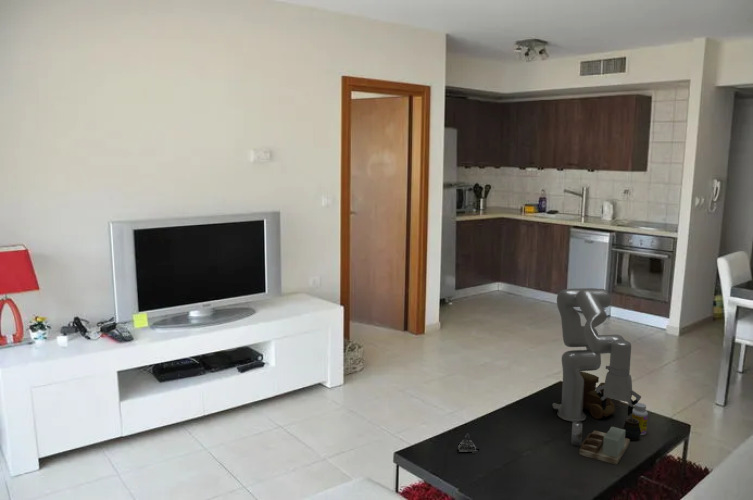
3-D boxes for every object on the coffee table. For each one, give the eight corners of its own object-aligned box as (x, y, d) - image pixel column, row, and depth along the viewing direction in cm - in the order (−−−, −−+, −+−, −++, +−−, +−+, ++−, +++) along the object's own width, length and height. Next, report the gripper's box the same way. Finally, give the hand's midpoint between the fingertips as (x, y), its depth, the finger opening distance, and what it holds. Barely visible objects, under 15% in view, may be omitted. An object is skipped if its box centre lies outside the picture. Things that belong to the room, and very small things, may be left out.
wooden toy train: (566, 408, 295) (568, 375, 293) (580, 402, 302) (582, 370, 299) (602, 422, 279) (605, 387, 277) (617, 416, 286) (619, 382, 283)
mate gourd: (625, 441, 261) (627, 419, 259) (619, 433, 268) (620, 411, 267) (642, 441, 260) (644, 419, 259) (635, 433, 268) (637, 412, 266)
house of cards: (478, 444, 258) (479, 426, 257) (480, 454, 249) (481, 436, 248) (457, 443, 259) (457, 426, 257) (458, 453, 250) (458, 435, 249)
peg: (570, 444, 258) (571, 423, 256) (572, 440, 261) (574, 420, 260) (579, 446, 255) (580, 426, 254) (582, 443, 259) (583, 422, 257)
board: (578, 454, 249) (579, 445, 248) (594, 434, 267) (594, 426, 266) (616, 464, 240) (617, 455, 240) (629, 443, 258) (630, 435, 258)
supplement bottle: (643, 437, 264) (646, 409, 262) (627, 432, 268) (630, 405, 266) (647, 432, 270) (650, 404, 268) (632, 427, 274) (634, 400, 272)
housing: (602, 453, 245) (603, 437, 244) (610, 442, 255) (611, 426, 254) (616, 457, 242) (618, 441, 241) (624, 445, 252) (625, 429, 251)
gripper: (594, 369, 245) (592, 409, 248) (640, 378, 236) (637, 420, 238) (599, 364, 251) (597, 403, 254) (644, 372, 242) (641, 413, 244)
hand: (616, 411), depth 246 cm, fingers open, 9 cm apart
